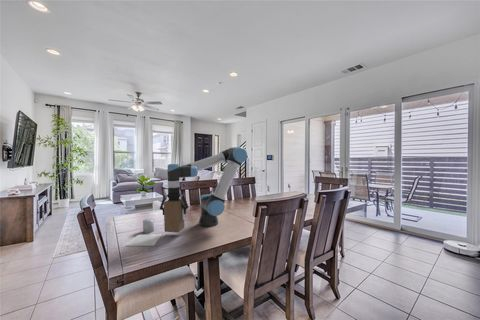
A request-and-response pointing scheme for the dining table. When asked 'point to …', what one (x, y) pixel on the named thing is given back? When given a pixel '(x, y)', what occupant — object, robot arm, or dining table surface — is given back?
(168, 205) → the wooden block
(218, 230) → the dining table surface
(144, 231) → the pale grey egg
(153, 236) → the shallow square tray
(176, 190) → the robot arm
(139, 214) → the dining table surface
